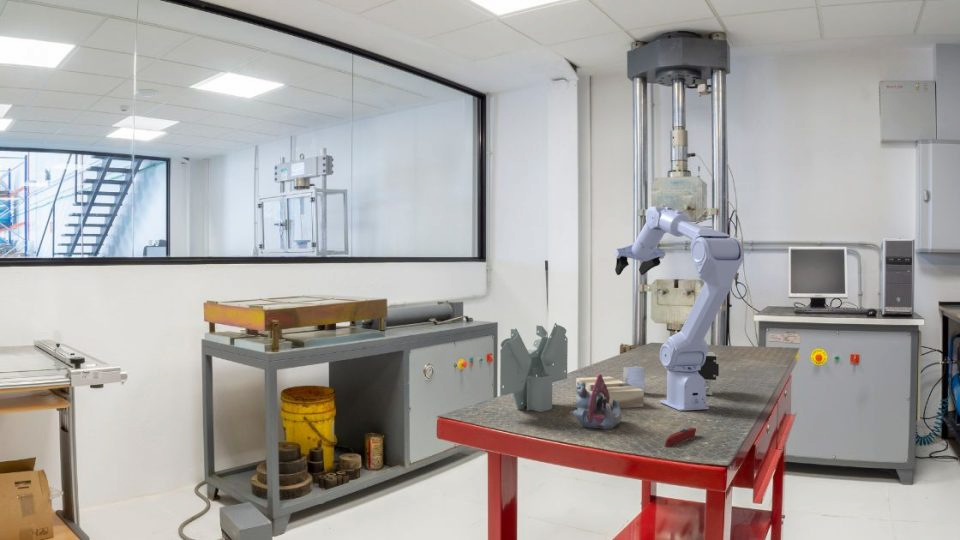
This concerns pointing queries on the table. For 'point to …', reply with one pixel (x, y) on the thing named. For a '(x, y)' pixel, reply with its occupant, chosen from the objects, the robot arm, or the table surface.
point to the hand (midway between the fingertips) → (629, 272)
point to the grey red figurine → (596, 406)
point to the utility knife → (680, 436)
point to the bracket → (533, 368)
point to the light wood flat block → (617, 391)
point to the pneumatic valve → (709, 370)
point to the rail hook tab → (634, 376)
